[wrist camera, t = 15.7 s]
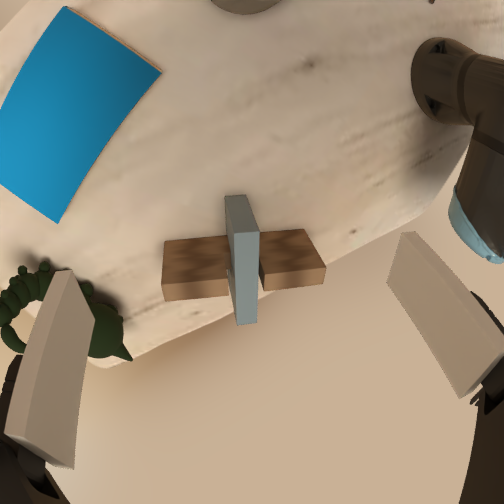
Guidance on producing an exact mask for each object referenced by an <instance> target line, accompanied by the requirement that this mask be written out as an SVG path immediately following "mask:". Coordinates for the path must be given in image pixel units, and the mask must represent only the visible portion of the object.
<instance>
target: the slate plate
mask: <svg viewBox="0 0 504 504" xmlns="http://www.w3.org/2000/svg"><path fill="white" fill-rule="evenodd" d="M225 213H226V231H227V236H228V241H229V245H230V250H231V269H228V280H229V286H230V292H231V297H232V302H233V308H234V313H235V318H236V323H237V325H244V324H252V323H257V302H258V270H259V235H260V231H259V228H258V226H257V223H256V220H255V218H254V215H253V213H252V210H251V207H250V205H249V202H248V199H247V197H246V195H236V196H225Z"/></svg>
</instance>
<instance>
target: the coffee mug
mask: <svg viewBox="0 0 504 504" xmlns="http://www.w3.org/2000/svg"><path fill="white" fill-rule="evenodd" d="M211 1H212V2H213V3H214V4H215V5H217V6H218V7H220V8H222V9H224V10H226V11H229V12H232V13H236V14H254V13H258V12H261V11H264V10H266V9H268V8H270V7H271V6H273V5H275V4H276V3H278V2H280V1H281V0H211Z"/></svg>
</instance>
